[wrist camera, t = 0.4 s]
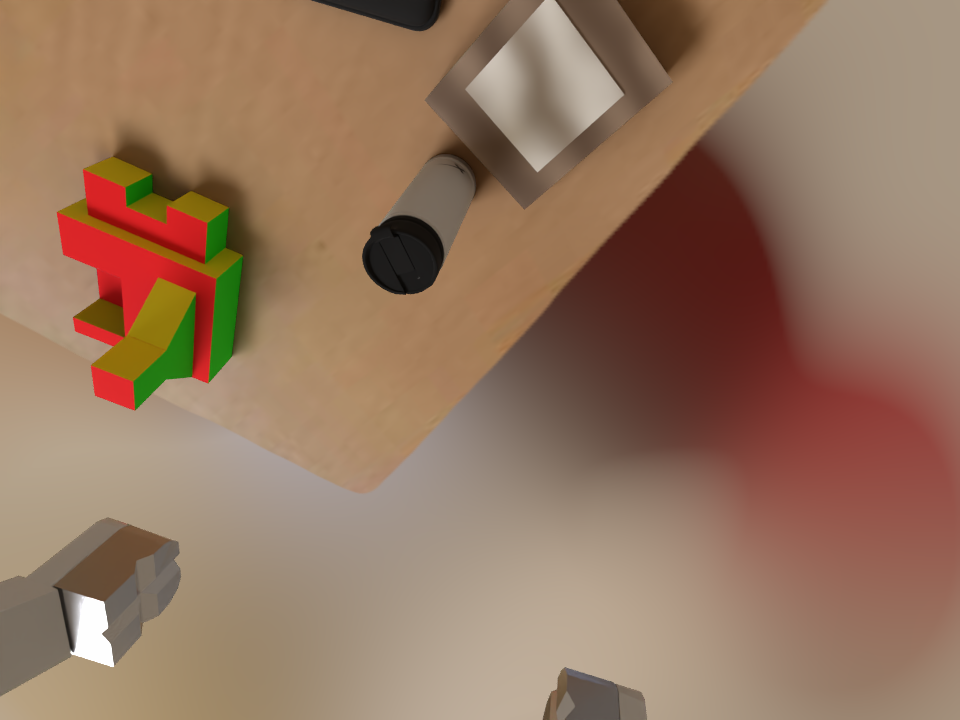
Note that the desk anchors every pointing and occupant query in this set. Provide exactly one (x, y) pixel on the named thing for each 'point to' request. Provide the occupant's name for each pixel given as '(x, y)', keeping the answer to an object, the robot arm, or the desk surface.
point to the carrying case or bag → (393, 11)
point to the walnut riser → (547, 89)
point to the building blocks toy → (152, 281)
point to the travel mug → (420, 227)
